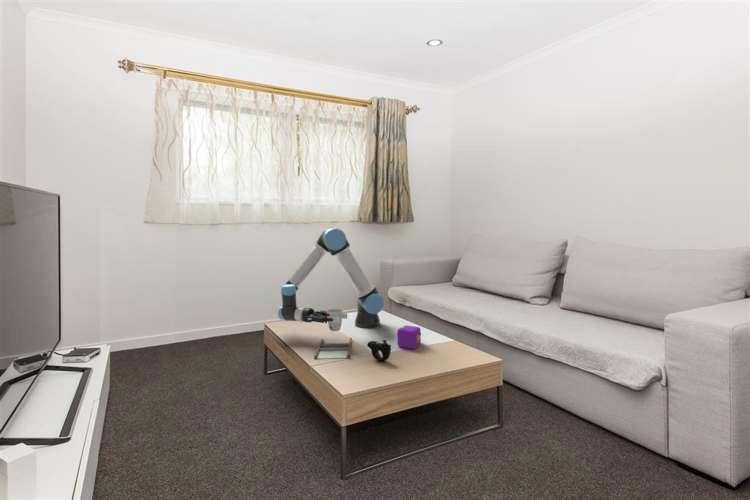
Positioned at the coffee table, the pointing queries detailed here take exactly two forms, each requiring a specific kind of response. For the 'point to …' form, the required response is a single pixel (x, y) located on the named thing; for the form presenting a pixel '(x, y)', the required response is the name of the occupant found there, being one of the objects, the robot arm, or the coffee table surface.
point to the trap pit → (334, 347)
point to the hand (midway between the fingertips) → (343, 317)
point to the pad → (332, 354)
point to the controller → (383, 347)
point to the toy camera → (409, 337)
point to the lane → (322, 343)
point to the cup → (335, 313)
